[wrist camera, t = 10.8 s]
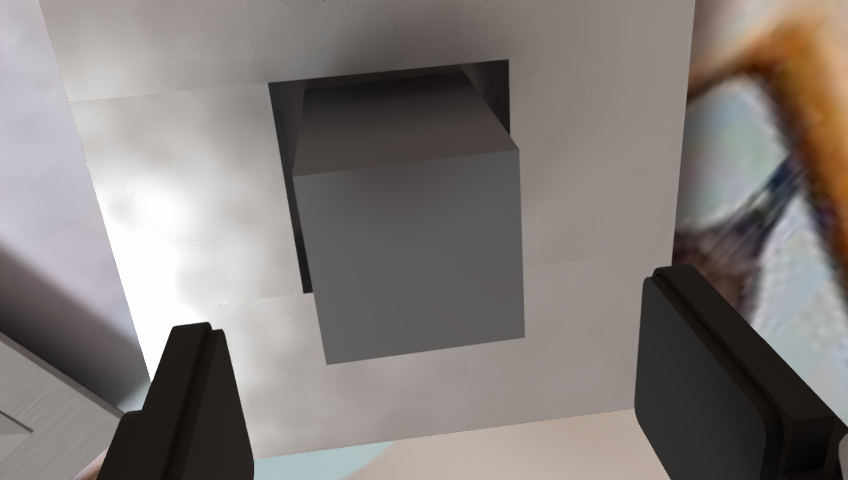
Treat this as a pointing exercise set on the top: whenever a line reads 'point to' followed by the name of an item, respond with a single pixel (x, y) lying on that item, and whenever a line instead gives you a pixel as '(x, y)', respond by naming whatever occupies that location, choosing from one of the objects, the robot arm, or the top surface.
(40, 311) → the top surface
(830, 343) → the top surface
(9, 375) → the electrical outlet
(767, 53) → the top surface
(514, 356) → the socket plate
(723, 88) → the top surface
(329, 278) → the block
